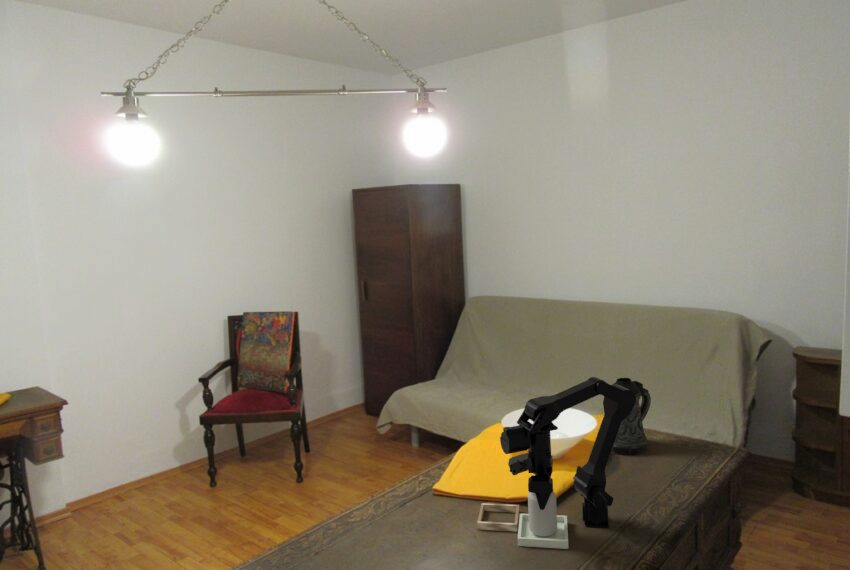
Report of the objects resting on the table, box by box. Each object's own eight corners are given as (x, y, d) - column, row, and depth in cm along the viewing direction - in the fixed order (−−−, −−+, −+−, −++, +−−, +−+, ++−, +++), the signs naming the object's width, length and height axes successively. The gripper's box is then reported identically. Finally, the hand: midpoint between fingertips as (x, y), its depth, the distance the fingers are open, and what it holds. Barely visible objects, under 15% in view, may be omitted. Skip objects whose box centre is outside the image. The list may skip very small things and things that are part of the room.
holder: (519, 511, 173) (519, 504, 173) (517, 531, 162) (517, 524, 162) (481, 509, 176) (481, 503, 175) (477, 529, 165) (476, 522, 164)
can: (557, 539, 156) (556, 496, 155) (528, 537, 158) (527, 495, 156) (557, 524, 163) (555, 483, 162) (529, 523, 165) (527, 482, 163)
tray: (567, 522, 165) (566, 515, 165) (568, 548, 153) (568, 541, 153) (520, 520, 168) (519, 513, 168) (517, 545, 156) (517, 538, 155)
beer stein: (591, 449, 214) (589, 382, 211) (613, 432, 228) (611, 369, 225) (637, 459, 203) (636, 389, 200) (656, 441, 218) (655, 375, 215)
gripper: (511, 433, 168) (514, 485, 170) (507, 460, 150) (509, 518, 152) (551, 433, 166) (553, 486, 168) (551, 462, 148) (554, 520, 150)
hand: (542, 502), depth 159 cm, fingers closed on can, 7 cm apart
